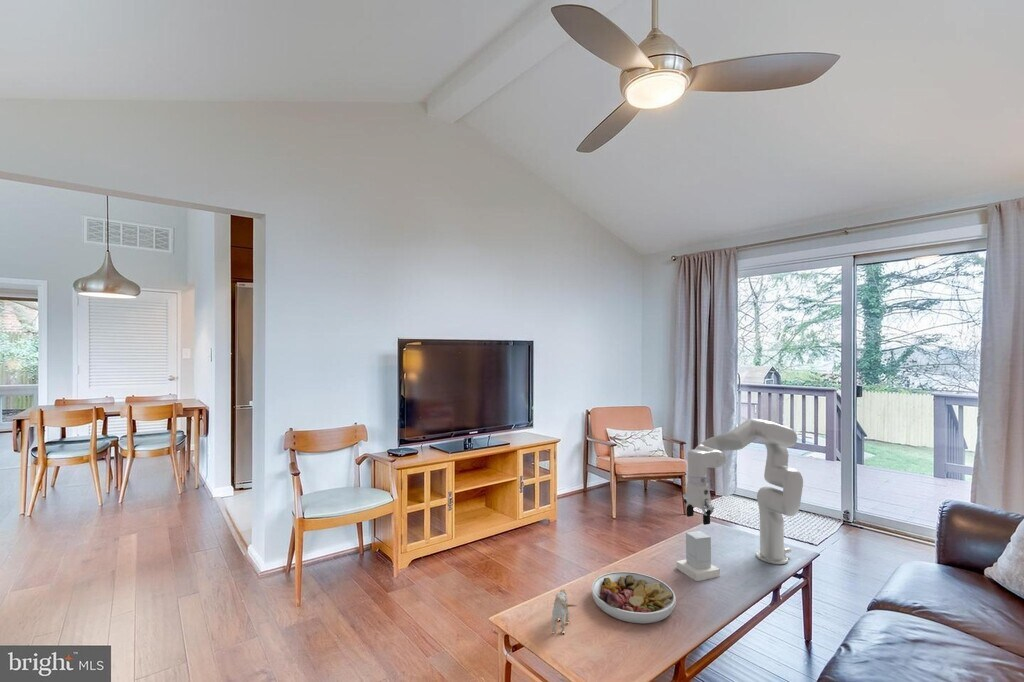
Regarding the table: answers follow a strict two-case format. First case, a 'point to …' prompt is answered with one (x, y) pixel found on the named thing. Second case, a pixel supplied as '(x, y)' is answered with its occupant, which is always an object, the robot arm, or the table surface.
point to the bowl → (633, 597)
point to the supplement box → (698, 549)
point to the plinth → (697, 571)
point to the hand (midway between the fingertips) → (698, 520)
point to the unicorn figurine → (560, 609)
